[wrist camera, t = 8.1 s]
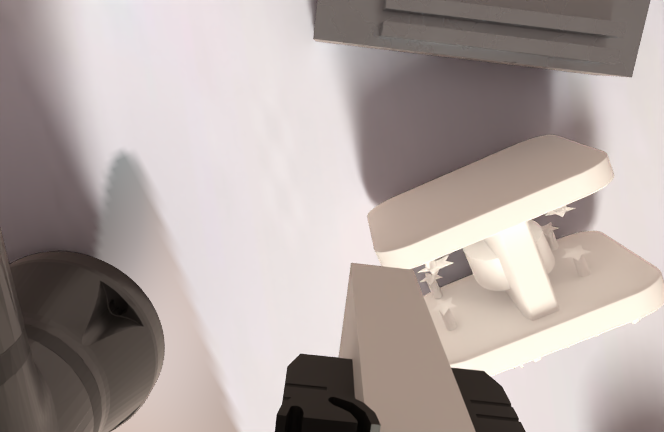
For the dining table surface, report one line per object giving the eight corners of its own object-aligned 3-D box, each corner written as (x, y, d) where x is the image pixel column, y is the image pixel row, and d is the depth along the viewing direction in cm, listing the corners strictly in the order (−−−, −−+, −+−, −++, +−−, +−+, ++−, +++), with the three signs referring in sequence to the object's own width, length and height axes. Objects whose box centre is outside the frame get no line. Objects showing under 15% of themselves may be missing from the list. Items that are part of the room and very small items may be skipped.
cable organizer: (553, 122, 42) (634, 145, 31) (598, 249, 45) (686, 313, 33) (363, 204, 44) (374, 255, 33) (416, 322, 46) (443, 407, 35)
